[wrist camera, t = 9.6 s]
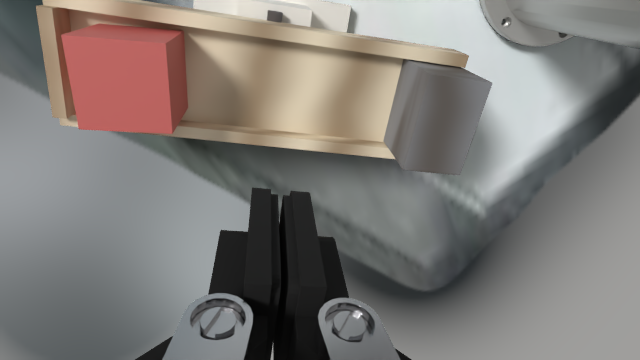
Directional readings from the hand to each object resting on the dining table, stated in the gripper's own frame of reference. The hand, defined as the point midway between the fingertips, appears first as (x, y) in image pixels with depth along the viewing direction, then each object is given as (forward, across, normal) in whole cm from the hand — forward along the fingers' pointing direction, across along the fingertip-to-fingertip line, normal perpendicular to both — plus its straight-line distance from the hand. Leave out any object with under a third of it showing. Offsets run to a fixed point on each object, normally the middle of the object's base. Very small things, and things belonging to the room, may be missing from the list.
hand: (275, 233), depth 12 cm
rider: (+18, +8, 0) cm, 19 cm away
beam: (+19, 0, 0) cm, 19 cm away
